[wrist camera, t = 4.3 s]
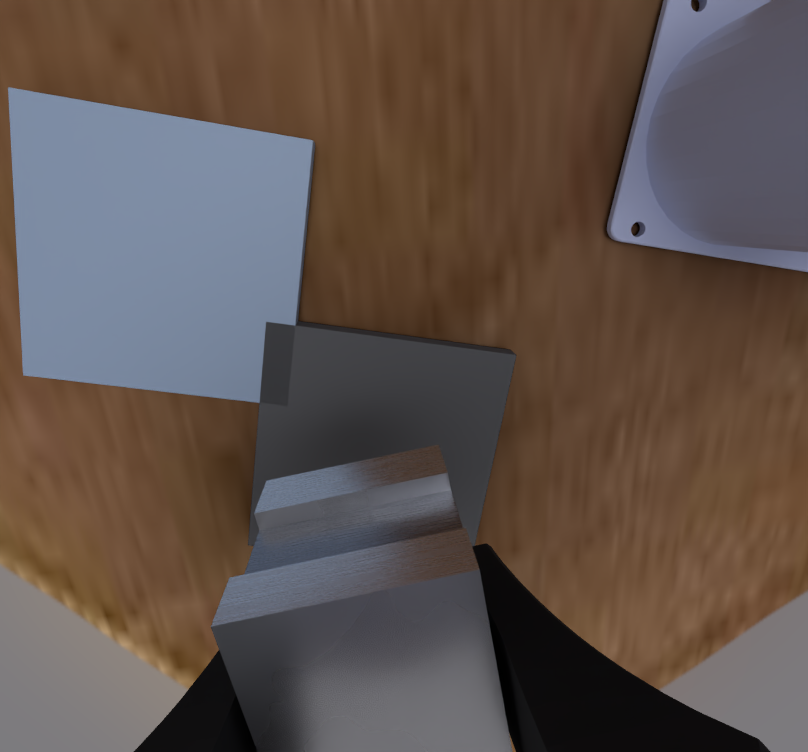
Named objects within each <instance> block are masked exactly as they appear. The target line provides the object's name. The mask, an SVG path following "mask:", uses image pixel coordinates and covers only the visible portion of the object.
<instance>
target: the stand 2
mask: <svg viewBox="0 0 808 752" xmlns="http://www.w3.org/2000/svg"><path fill="white" fill-rule="evenodd" d="M515 359H516V354H515V353H513V352H512V351H511V350H508V349H501V348H493V347H486V346H479V345H471V344H464V343H456V342H449V341H441V340H434V339H427V338H419V337H412V336H404V335H397V334H390V333H382V332H375V331H367V330H360V329H352V328H345V327H338V326H330V325H323V324H315V323H308V322H301V321H298V322H297V323H296V325H287V324H280V323H272V322H266V328H265V341H264V353H263V365H262V378H261V390H260V403H259V415H258V428H257V440H256V453H255V465H254V478H253V490H252V503H251V515H250V528H249V540H248V545H250V546H254V545H255V542H256V539H257V536H258V533H259V527H258V524H257V521H256V518H255V515H254V512H255V510H256V507H257V504H258V502H259V499H260V496H261V494H262V491H263V489H264V486H265V483H266V481H267V480H272V479H277V478H281V477H286V476H291V475H296V474H300V473H305V472H310V471H315V470H319V469H324V468H329V467H334V466H339V465H343V464H348V463H353V462H358V461H362V460H367V459H372V458H377V457H382V456H386V455H391V454H396V453H401V452H405V451H410V450H415V449H420V448H424V447H429V446H434V445H439V448H440V451H441V454H442V457H443V460H444V463H445V466H446V469H447V472H448V477H449V482H450V487H451V491H452V495H453V498H454V501H455V504H456V507H457V510H458V513H459V516H460V520H461V523H462V526H463V528H466V530H467V533H468V536H469V539H470V542H471V545H472V546H475V541H476V537H477V532H478V528H479V523H480V519H481V514H482V509H483V505H484V500H485V496H486V491H487V487H488V482H489V477H490V473H491V468H492V464H493V459H494V455H495V450H496V446H497V441H498V436H499V432H500V427H501V423H502V418H503V414H504V409H505V405H506V400H507V395H508V391H509V386H510V382H511V377H512V373H513V368H514V364H515Z"/></svg>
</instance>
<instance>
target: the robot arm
mask: <svg viewBox="0 0 808 752" xmlns="http://www.w3.org/2000/svg"><path fill="white" fill-rule="evenodd" d="M698 2H699V10H698V12H696V11H694V10H693V9H692V7H691V0H664V1H663V5H662V9H661V12H660V16H659V20H658V24H657V28H656V32H655V36H654V40H653V44H652V48H651V52H650V56H649V60H648V64H647V68H646V72H645V76H644V80H643V84H642V88H641V92H640V96H639V100H638V104H637V108H636V112H635V116H634V120H633V124H632V128H631V132H630V136H629V140H628V144H627V148H626V152H625V156H624V160H623V164H622V168H621V172H620V176H619V180H618V184H617V188H616V192H615V196H614V200H613V204H612V207H611V211H610V215H609V219H608V223H607V232H608V235H609V236H610V238H611V239H613V240H615V241H619V242H626V243H632V244H638V245H644V246H650V247H656V248H662V249H669V250H675V251H681V252H687V253H693V254H699V255H705V256H712V257H718V258H724V259H730V260H736V261H742V262H748V263H755V264H761V265H767V266H773V267H779V268H785V269H791V270H798V271H804V272H808V0H698ZM635 222H637V223H638V224H639V226H640V230H639V232H638V234H637V235H635V236H633V235H632V233H631V227H632V225H633V224H634V223H635ZM472 548H473V551H474V554H475V557H476V560H477V563H478V566H479V569H480V574H481V580H482V586H483V591H484V597H485V602H486V608H487V613H488V619H489V625H490V630H491V636H492V641H493V647H494V652H495V658H496V664H497V669H498V675H499V680H500V686H501V691H502V697H503V702H504V708H505V714H506V719H507V725H508V730H509V733H510V736H511V739H512V742H513V744H514V747H515V750H516V752H770V751H769V750H768V749H767V747H766V746H765V745H764V744H763V743H762V742H761V741H760V740H759V739H757V738H755V737H753V736H751V735H748V734H746V733H744V732H742V731H739V730H737V729H735V728H733V727H731V726H729V725H726V724H724V723H722V722H720V721H718V720H715V719H713V718H711V717H709V716H707V715H704V714H702V713H700V712H698V711H696V710H694V709H692V708H690V707H688V706H686V705H685V704H683V703H681V702H679V701H677V700H675V699H673V698H672V697H670V696H668V695H666V694H664V693H662V692H661V691H659V690H658V689H656V688H654V687H653V686H651V685H649V684H648V683H646V682H644V681H643V680H641V679H640V678H638V677H636V676H635V675H633V674H631V673H630V672H628V671H626V670H625V669H623V668H622V667H620V666H619V665H617V664H616V663H615V662H613V661H612V660H610V659H609V658H607V657H606V656H605V655H603V654H602V653H600V652H599V651H598V650H596V649H595V648H594V647H592V646H591V645H590V644H588V643H587V642H586V641H584V640H583V639H582V638H581V637H579V636H578V635H577V634H576V633H574V632H573V631H572V630H571V629H569V628H568V627H567V626H566V625H565V624H564V623H562V622H561V621H560V620H559V619H558V618H557V617H556V616H555V615H553V614H552V613H551V612H550V611H549V610H548V609H547V608H546V607H545V606H544V605H543V604H542V603H540V602H539V601H538V600H537V599H536V598H535V597H534V596H533V595H532V594H531V593H530V592H529V591H528V590H527V589H526V588H525V587H524V586H523V584H522V583H521V582H520V581H519V580H518V579H517V578H516V577H515V576H514V575H513V573H512V572H511V571H510V570H509V569H508V568H507V567H506V565H505V564H504V563H503V562H502V561H501V559H500V558H499V557H498V555H497V554H496V553H495V551H494V550H493V549H492V547H491V546H489V545H488V544H481V545H476V546H472ZM134 752H257V749H256V747H255V744H254V741H253V739H252V736H251V733H250V730H249V728H248V725H247V722H246V720H245V717H244V714H243V712H242V709H241V706H240V704H239V701H238V698H237V696H236V693H235V690H234V688H233V685H232V682H231V680H230V677H229V674H228V671H227V669H226V666H225V663H224V661H223V658H222V655H221V653H220V650H219V651H218V652H217V653H216V655H215V656H214V658H213V659H212V660H211V662H210V663H209V664H208V666H207V667H206V668H205V670H204V671H203V672H202V673H201V675H200V676H199V677H198V678H197V680H196V681H195V682H194V683H193V685H192V686H191V687H190V688H189V690H188V691H187V692H186V694H185V695H184V696H183V698H182V699H181V700H180V701H179V702H178V703H177V705H176V706H175V707H174V708H173V709H172V711H171V712H170V713H169V714H168V715H167V716H166V717H165V718H164V720H163V721H162V722H161V723H160V724H159V725H158V726H157V727H156V728H155V730H154V731H153V732H152V733H151V734H150V735H149V736H148V737H147V738H146V739H145V740H144V742H143V743H142V744H141V745H140V746H139V747H138V748H137V749H136V750H135V751H134Z"/></svg>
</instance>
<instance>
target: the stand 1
mask: <svg viewBox="0 0 808 752" xmlns="http://www.w3.org/2000/svg"><path fill="white" fill-rule="evenodd" d="M8 93H9V112H10V131H11V150H12V169H13V188H14V207H15V226H16V245H17V264H18V283H19V302H20V321H21V340H22V359H23V375H26V376H34V377H43V378H51V379H60V380H69V381H77V382H86V383H94V384H103V385H112V386H120V387H129V388H137V389H146V390H154V391H163V392H172V393H180V394H189V395H197V396H206V397H215V398H223V399H232V400H240V401H249V402H257V403H260V390H261V378H262V365H263V353H264V341H265V328H266V322H272V323H280V324H287V325H296V323H297V322H298V316H299V305H300V295H301V285H302V275H303V264H304V254H305V244H306V233H307V223H308V213H309V203H310V192H311V182H312V172H313V162H314V151H315V143H314V141H313V140H308V139H302V138H296V137H290V136H285V135H279V134H273V133H267V132H262V131H256V130H250V129H244V128H239V127H233V126H227V125H221V124H216V123H210V122H204V121H198V120H193V119H187V118H181V117H175V116H170V115H164V114H158V113H152V112H146V111H141V110H135V109H129V108H123V107H118V106H112V105H106V104H100V103H95V102H89V101H83V100H77V99H72V98H66V97H60V96H54V95H49V94H43V93H37V92H31V91H26V90H20V89H14V88H8Z"/></svg>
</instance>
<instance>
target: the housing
mask: <svg viewBox="0 0 808 752" xmlns="http://www.w3.org/2000/svg"><path fill="white" fill-rule="evenodd" d="M254 515H255V518H256V521H257V524H258V527H259V533H258V536H257V539H256V542H255V545H254V547H253V550H252V553H251V556H250V559H249V562H248V565H247V568H246V571H245V574H244V575H240V576H235V577H230V578H229V580H228V583H227V586H226V588H225V591H224V594H223V596H222V599H221V601H220V604H219V607H218V609H217V612H216V615H215V617H214V620H213V622H212V625H211V629H212V631H213V634H214V637H215V639H216V642H217V645H218V647H219V650H220V653H221V655H222V658H223V661H224V663H225V666H226V669H227V671H228V674H229V677H230V680H231V682H232V685H233V688H234V690H235V693H236V696H237V698H238V701H239V704H240V706H241V709H242V712H243V714H244V717H245V720H246V722H247V725H248V728H249V730H250V733H251V736H252V739H253V741H254V744H255V747H256V749H257V752H512V747H511V741H510V736H509V730H508V725H507V719H506V714H505V708H504V702H503V697H502V691H501V686H500V680H499V675H498V669H497V664H496V658H495V652H494V647H493V641H492V636H491V630H490V625H489V619H488V613H487V608H486V602H485V597H484V591H483V586H482V580H481V574H480V569H479V566H478V563H477V560H476V557H475V554H474V551H473V548H472V545H471V542H470V539H469V536H468V533H467V530H466V528H463V526H462V523H461V520H460V516H459V513H458V510H457V507H456V504H455V501H454V498H453V495H452V491H451V487H450V482H449V477H448V472H447V469H446V466H445V463H444V460H443V457H442V454H441V451H440V448H439V445H434V446H429V447H424V448H420V449H415V450H410V451H405V452H401V453H396V454H391V455H386V456H382V457H377V458H372V459H367V460H362V461H358V462H353V463H348V464H343V465H339V466H334V467H329V468H324V469H319V470H315V471H310V472H305V473H300V474H296V475H291V476H286V477H281V478H277V479H272V480H267V481H266V483H265V486H264V489H263V491H262V494H261V496H260V499H259V502H258V504H257V507H256V510H255V512H254Z"/></svg>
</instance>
